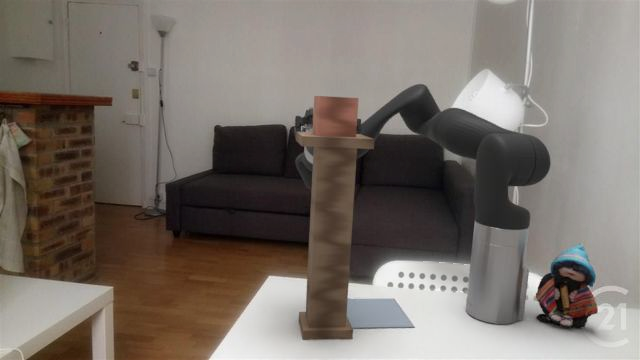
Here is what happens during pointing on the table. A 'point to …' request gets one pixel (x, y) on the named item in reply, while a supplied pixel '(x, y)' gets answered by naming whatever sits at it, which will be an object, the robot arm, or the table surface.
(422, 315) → the table surface
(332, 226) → the wooden pedestal column
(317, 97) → the mallet
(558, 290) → the figurine
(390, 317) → the pad
